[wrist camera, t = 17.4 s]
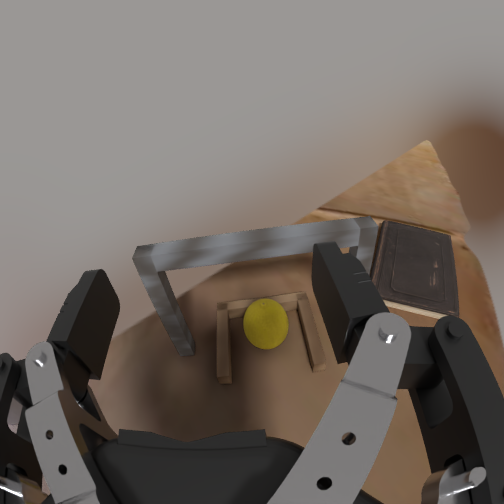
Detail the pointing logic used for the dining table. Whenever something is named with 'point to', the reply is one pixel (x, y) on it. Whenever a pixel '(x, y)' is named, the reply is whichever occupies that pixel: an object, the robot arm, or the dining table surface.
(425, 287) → the hardcover book
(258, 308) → the lemon
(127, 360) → the dining table surface
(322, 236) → the keeper pocket
